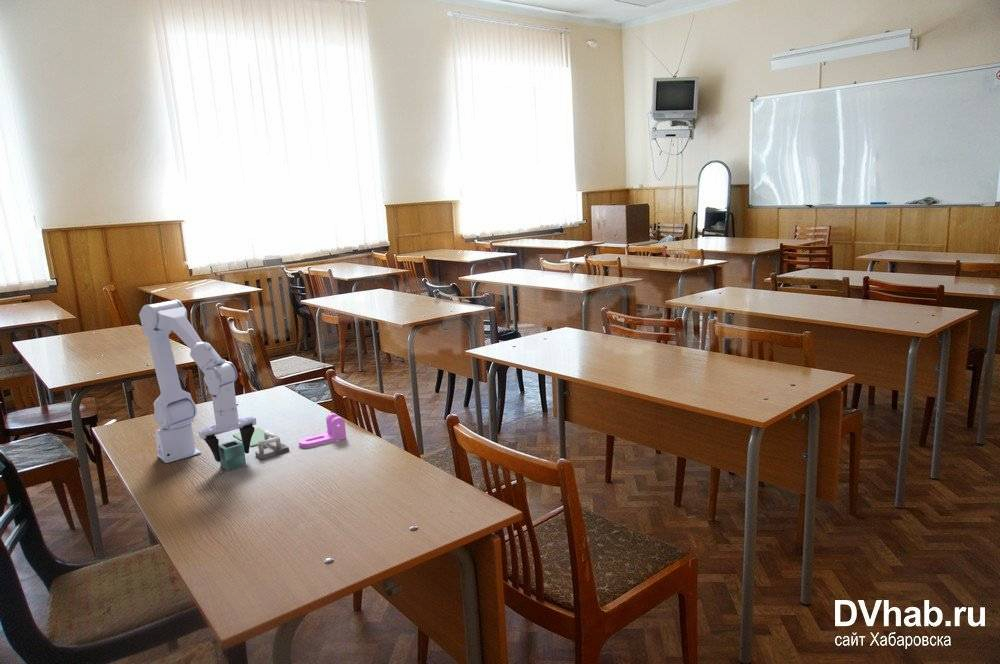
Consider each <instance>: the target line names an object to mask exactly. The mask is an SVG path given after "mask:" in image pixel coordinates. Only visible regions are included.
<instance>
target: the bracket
mask: <svg viewBox="0 0 1000 664" xmlns="http://www.w3.org/2000/svg"><path fill="white" fill-rule="evenodd" d="M326 430H327V431H326V432H324V433H319V434H316V435H310V436H306V437H303V438H301V439H299V440H298V445H299V448H302V449H308V448H309V449H310V448H314V447H318V446H322V445H326V444H330V443H334V441H335V442H339V441H342V440H341V439H343V440H345V439H344V438H346V439H347V432H346V431H347V430H346V422H345V420H344V419H343V418H342V417H341V416H339V415H338V414H337V413H335V412H332V413H329V414H328V415H327V416H326ZM338 440H339V441H338Z"/></svg>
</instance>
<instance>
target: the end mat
mask: <svg viewBox="0 0 1000 664" xmlns="http://www.w3.org/2000/svg"><path fill="white" fill-rule="evenodd" d="M254 429H255V430H254V433H253V435H252V438H251V442H250V448H252V447H256V446H258V444H259V443H258V441H262V440H265V438H264V431H265V430H264V429H262V428H260V427H254ZM232 437H234V438H236V440H237V439H238V441H240V442H242V437H241V433H240V432H237V433H233V434H232ZM269 438H271V437H269Z"/></svg>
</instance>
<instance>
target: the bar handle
mask: <svg viewBox="0 0 1000 664" xmlns="http://www.w3.org/2000/svg"><path fill="white" fill-rule="evenodd" d="M269 437H271V438H269ZM264 438H265V440H262V441H258V443H259V444H258V445H257V446H258V450H257V451H255V457H257V458H259V459H260V460H265V459H268V458H271V457H275V456H278V455H281V454H284V453H287V452H290V447H289V446H287V445H286V444H283V443H282V442H281V438H280V436H279V435H276V434H275V433H272V432H271V431H269V430H267V429H265V430H264Z"/></svg>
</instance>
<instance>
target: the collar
mask: <svg viewBox="0 0 1000 664" xmlns="http://www.w3.org/2000/svg"><path fill="white" fill-rule="evenodd" d="M219 453H220V458H221V462H219V463H220V466H221V467H222V468H223V469H224V470H226V471H227V472H228V471H231V470H232V471H233V470H235V469H238V468H241V467H244V466H247V461H246V453H245V452H244V445H243V444H242V441H240V440H237V439H234V440H230V441H227V442H224V443H220V444H219Z"/></svg>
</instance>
